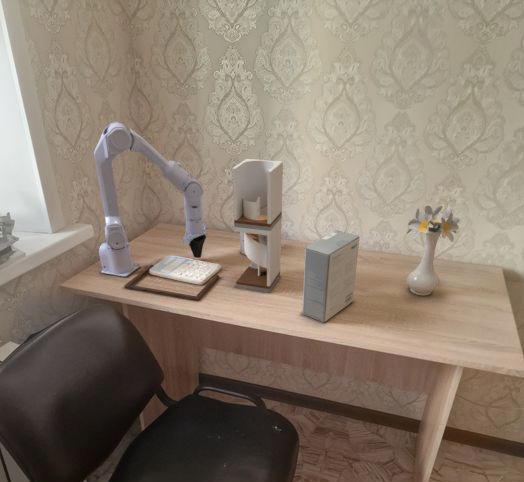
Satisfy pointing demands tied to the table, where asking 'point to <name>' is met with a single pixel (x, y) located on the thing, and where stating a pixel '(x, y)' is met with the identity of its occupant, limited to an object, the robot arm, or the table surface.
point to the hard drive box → (329, 275)
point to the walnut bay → (172, 294)
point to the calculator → (185, 269)
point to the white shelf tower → (259, 220)
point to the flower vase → (430, 246)
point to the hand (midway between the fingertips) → (197, 256)
